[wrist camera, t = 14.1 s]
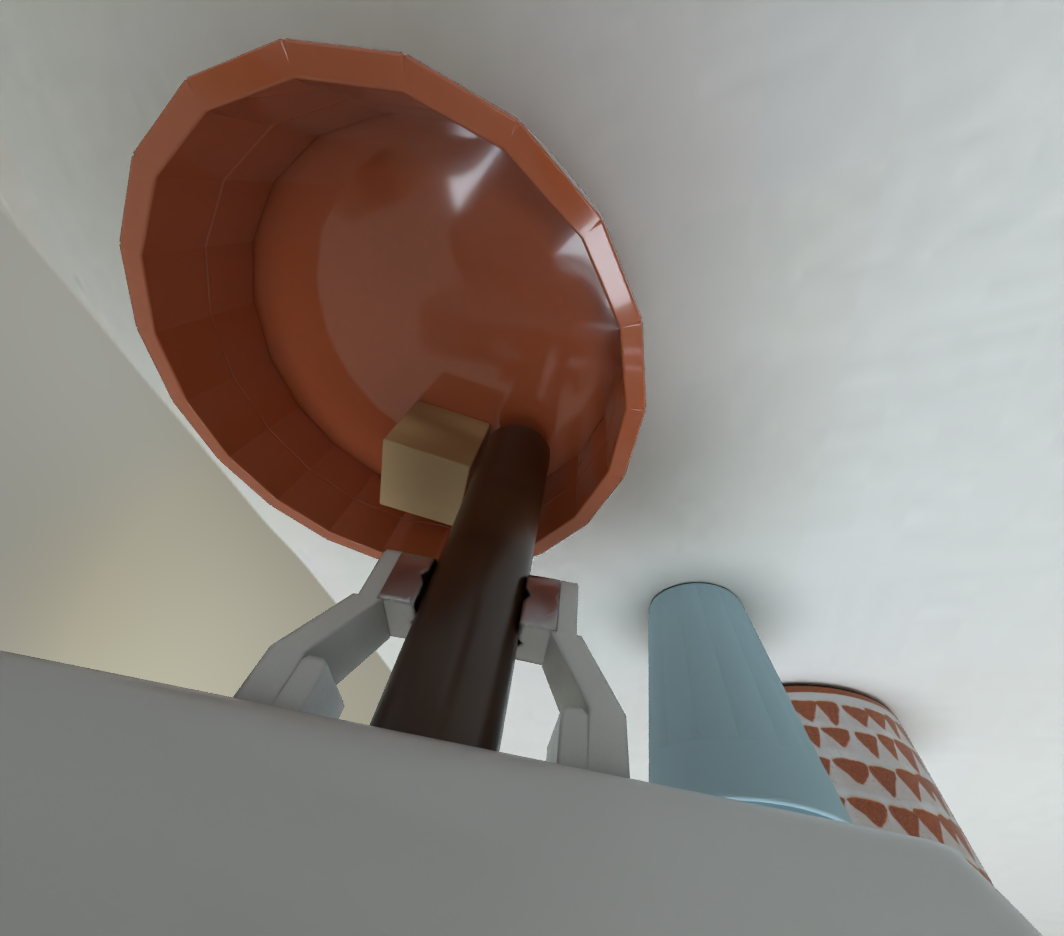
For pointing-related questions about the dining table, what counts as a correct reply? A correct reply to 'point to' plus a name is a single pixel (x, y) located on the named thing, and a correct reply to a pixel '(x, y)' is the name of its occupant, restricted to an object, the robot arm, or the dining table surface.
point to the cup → (726, 709)
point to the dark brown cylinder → (473, 603)
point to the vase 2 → (876, 767)
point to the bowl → (375, 285)
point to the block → (431, 461)
